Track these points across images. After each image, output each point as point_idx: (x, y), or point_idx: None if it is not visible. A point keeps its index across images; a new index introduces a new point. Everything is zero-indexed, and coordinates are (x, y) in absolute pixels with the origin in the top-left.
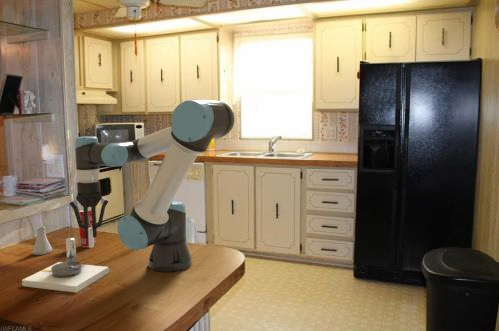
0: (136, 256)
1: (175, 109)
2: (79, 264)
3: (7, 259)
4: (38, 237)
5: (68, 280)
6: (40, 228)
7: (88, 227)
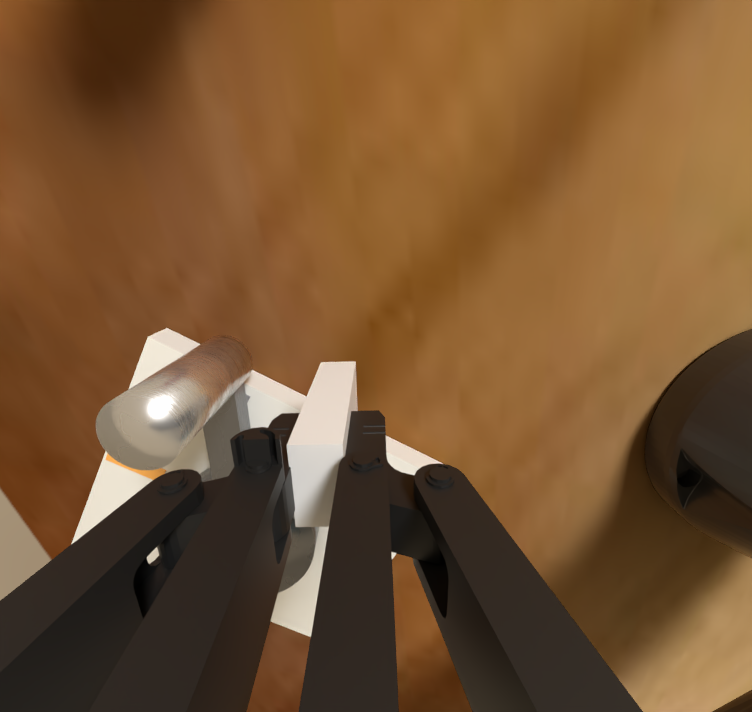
0: (614, 237)
1: None
2: (304, 534)
3: None
4: None
5: (284, 590)
6: None
7: (289, 507)
